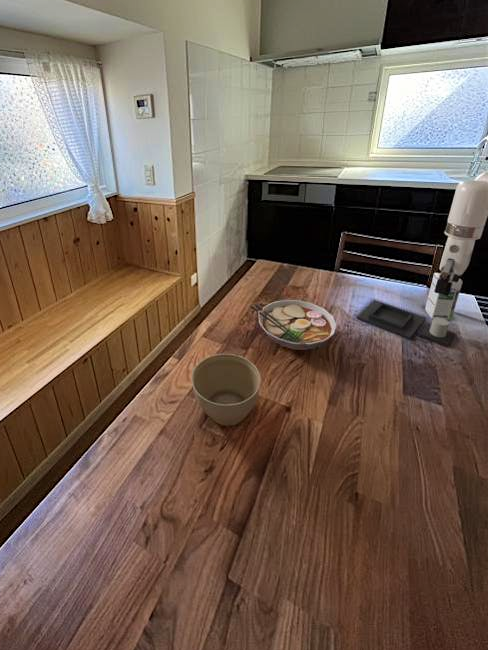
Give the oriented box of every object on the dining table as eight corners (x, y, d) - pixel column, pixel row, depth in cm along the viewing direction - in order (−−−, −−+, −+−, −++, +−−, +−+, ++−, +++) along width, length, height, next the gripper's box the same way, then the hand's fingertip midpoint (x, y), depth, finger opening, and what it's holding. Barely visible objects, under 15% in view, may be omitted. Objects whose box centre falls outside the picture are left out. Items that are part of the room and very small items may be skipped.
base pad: (425, 320, 110) (426, 314, 109) (409, 340, 102) (411, 334, 101) (373, 302, 121) (374, 297, 120) (356, 318, 113) (357, 313, 112)
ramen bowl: (353, 349, 100) (357, 327, 96) (293, 378, 91) (295, 354, 88) (295, 309, 120) (296, 289, 117) (241, 329, 112) (241, 308, 109)
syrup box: (431, 319, 110) (442, 280, 104) (424, 309, 115) (434, 271, 109) (451, 320, 109) (463, 281, 103) (443, 310, 114) (454, 272, 108)
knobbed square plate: (453, 336, 102) (458, 320, 100) (446, 347, 98) (451, 331, 95) (426, 326, 107) (431, 311, 104) (419, 336, 103) (423, 321, 100)
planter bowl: (210, 377, 93) (208, 346, 89) (267, 397, 86) (269, 364, 81) (182, 423, 81) (178, 389, 76) (246, 450, 73) (247, 415, 69)
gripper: (473, 243, 79) (454, 304, 86) (489, 223, 89) (470, 280, 96) (436, 235, 84) (420, 294, 91) (454, 218, 94) (439, 272, 102)
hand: (446, 287), depth 94 cm, fingers open, 9 cm apart
